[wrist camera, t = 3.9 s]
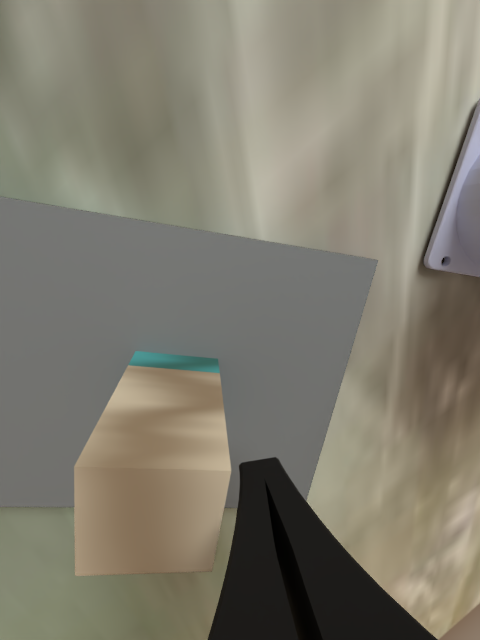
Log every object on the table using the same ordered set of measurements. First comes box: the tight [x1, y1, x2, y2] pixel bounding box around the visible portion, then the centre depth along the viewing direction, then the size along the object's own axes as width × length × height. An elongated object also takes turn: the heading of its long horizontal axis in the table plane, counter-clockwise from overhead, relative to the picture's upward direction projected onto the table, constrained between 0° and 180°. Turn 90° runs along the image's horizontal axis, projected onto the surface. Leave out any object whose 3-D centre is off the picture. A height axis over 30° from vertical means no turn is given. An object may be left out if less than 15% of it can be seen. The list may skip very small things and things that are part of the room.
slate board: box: [0, 197, 378, 508], centre depth 15 cm, size 22×16×1 cm
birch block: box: [74, 351, 231, 576], centre depth 11 cm, size 4×4×7 cm
